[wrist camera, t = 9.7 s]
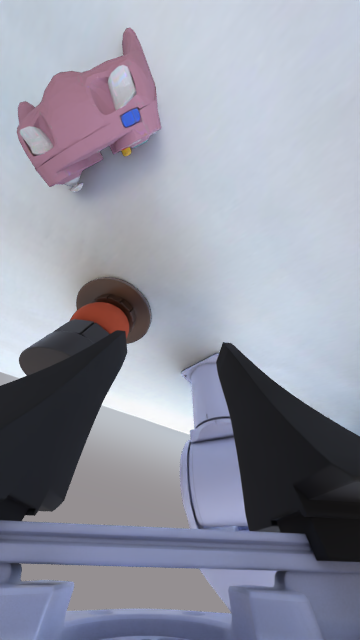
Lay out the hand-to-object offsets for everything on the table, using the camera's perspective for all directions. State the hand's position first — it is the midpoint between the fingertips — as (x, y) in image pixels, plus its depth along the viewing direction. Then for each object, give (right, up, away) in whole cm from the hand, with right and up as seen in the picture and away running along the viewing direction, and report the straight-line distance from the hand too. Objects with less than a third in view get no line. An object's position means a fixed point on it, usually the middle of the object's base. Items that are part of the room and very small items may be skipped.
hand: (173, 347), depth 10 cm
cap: (-9, 0, +3) cm, 9 cm away
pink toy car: (-6, +17, +2) cm, 18 cm away
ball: (-9, +1, +6) cm, 10 cm away
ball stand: (-9, +3, +9) cm, 13 cm away
